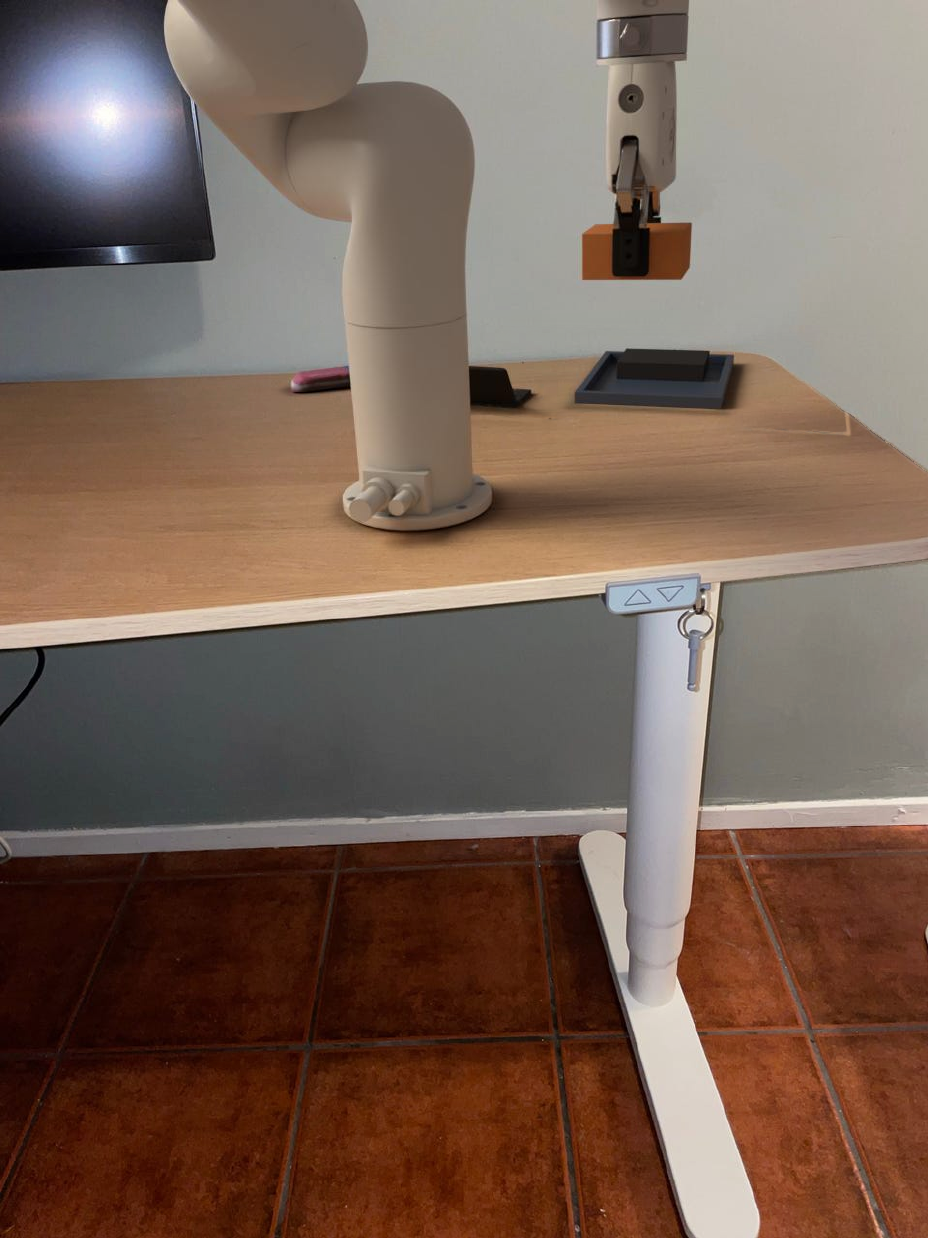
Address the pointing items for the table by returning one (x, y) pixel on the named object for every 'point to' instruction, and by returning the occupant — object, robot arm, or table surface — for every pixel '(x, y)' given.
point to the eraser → (321, 379)
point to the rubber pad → (663, 365)
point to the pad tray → (655, 386)
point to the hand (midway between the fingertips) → (636, 266)
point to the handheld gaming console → (494, 388)
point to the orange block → (664, 252)
